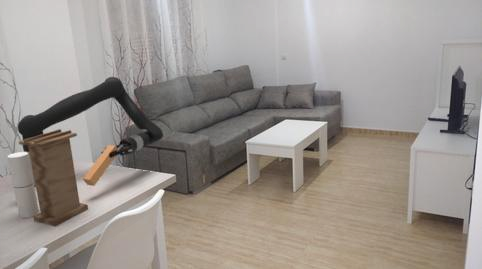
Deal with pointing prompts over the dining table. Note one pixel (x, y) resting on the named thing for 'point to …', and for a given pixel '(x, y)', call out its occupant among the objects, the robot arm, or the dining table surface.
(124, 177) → the dining table surface
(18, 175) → the cylindrical container
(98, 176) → the orange bar
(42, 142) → the walnut stand
